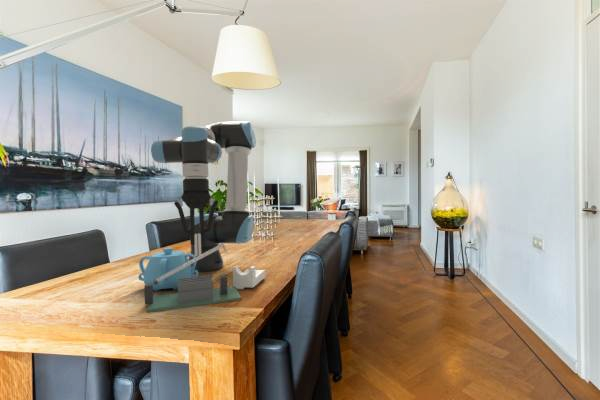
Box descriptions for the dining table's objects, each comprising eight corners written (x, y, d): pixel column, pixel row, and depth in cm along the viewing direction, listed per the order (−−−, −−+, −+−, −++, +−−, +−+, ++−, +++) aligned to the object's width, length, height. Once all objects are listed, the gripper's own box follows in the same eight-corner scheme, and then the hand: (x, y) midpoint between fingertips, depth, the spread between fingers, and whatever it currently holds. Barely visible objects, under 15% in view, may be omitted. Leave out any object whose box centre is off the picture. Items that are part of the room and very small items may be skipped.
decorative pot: (180, 277, 126) (178, 242, 125) (202, 285, 115) (201, 246, 115) (136, 287, 114) (134, 249, 113) (156, 297, 103) (154, 254, 103)
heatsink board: (147, 299, 101) (146, 279, 101) (234, 288, 110) (234, 270, 110) (143, 313, 90) (142, 290, 90) (241, 299, 99) (240, 279, 99)
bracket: (253, 290, 109) (252, 268, 109) (233, 289, 111) (232, 267, 110) (265, 279, 122) (264, 259, 122) (247, 278, 123) (246, 258, 123)
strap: (158, 287, 98) (153, 278, 97) (226, 250, 105) (222, 241, 104) (157, 290, 95) (152, 281, 94) (227, 251, 102) (223, 243, 101)
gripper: (172, 177, 93) (174, 259, 94) (219, 177, 98) (221, 255, 99) (172, 179, 100) (174, 255, 101) (216, 178, 105) (218, 251, 106)
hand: (197, 255), depth 100 cm, fingers closed
